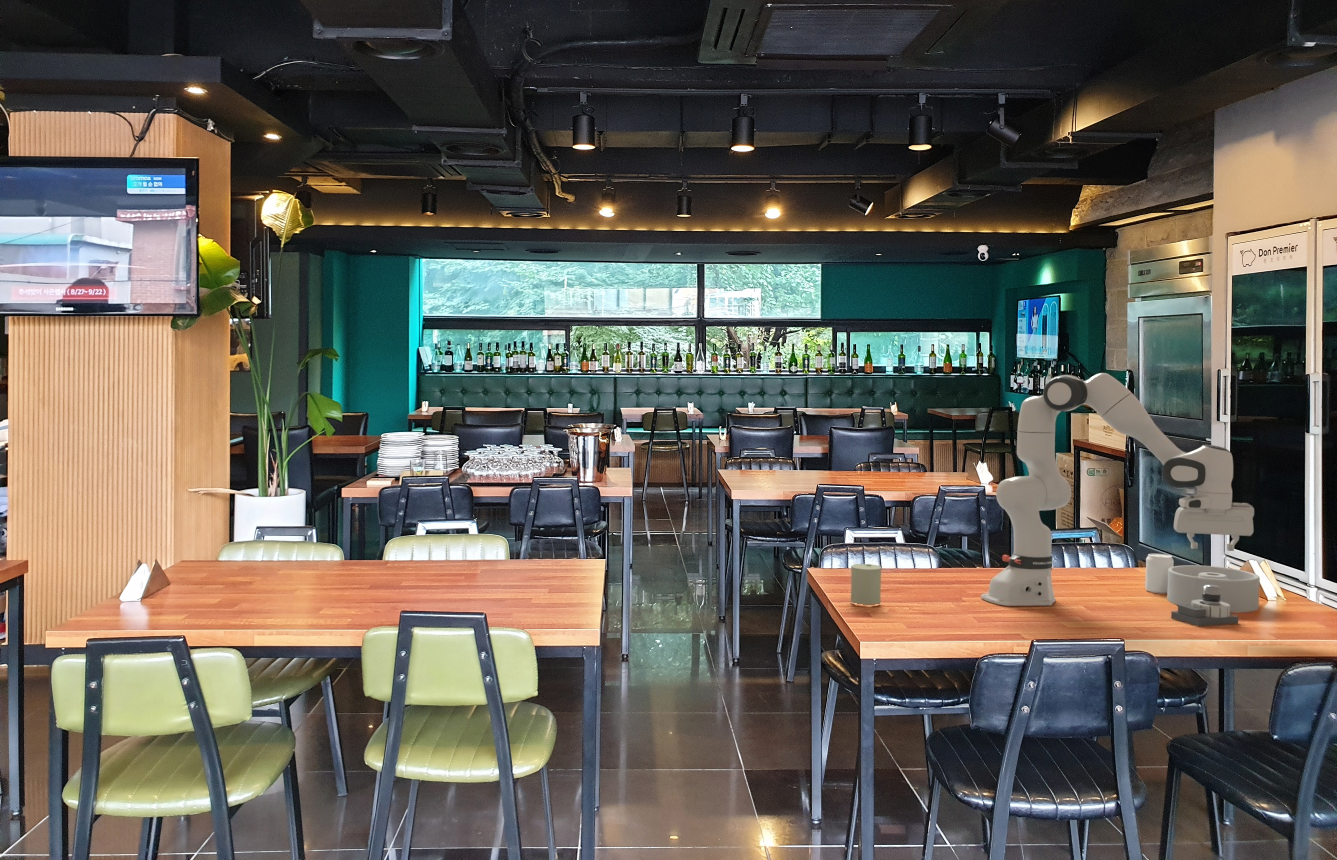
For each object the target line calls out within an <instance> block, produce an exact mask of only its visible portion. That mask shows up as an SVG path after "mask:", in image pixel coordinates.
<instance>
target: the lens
mask: <svg viewBox="0 0 1337 860" xmlns="http://www.w3.org/2000/svg"><path fill="white" fill-rule="evenodd" d="M1220 591H1221V587H1220V586H1216V585H1203V593H1202V604H1206V605H1220V598H1221V594H1220Z"/></svg>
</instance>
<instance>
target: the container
mask: <svg viewBox="0 0 1337 860" xmlns="http://www.w3.org/2000/svg"><path fill="white" fill-rule="evenodd" d="M1260 581H1261V580H1260V575H1258V574H1256V573H1254V572H1251V571H1246V570H1242V569H1236V568H1231V567H1223V566H1212V565H1211V566H1210V565H1175V566H1174V567H1171V568H1169V569H1168V589H1167V594H1166V599H1167V601H1168V602H1169V603H1171V604H1173V605H1176V606H1178V605H1191V601H1193V600H1202V593H1203V585H1216V586H1220V587H1221V591H1220V594H1221V598H1220V602H1224V603H1228V604H1229V605H1230V614H1233V613H1235V614H1237V613H1238V614H1239V613H1242V614H1243V613H1244V614H1245V613H1251V612H1256V611H1258V610H1259V607H1260V606H1259V605H1260V604H1259V603H1260Z"/></svg>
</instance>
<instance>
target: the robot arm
mask: <svg viewBox="0 0 1337 860" xmlns="http://www.w3.org/2000/svg"><path fill="white" fill-rule="evenodd" d="M1082 405H1087V406H1088V407H1090V408H1091V409H1092V410H1094V411H1095V412H1096V413H1097V414H1098V415H1099V417H1100V418H1101V419H1102V420H1103V421H1105V423H1106V424H1108V426H1110V427H1111V428H1113V429H1114V430H1115V431H1116V432H1118V433H1120V434H1122V435H1125V436H1128V437H1130V438H1133V439H1135V440H1136V441H1138V442H1140V443H1141V444H1142V445H1144V446H1145V447H1146V448H1147V449H1148V450H1149V452H1151V453H1152V455H1154V457H1155V458H1156V459H1158V460H1159V462H1160V463H1161V465H1162V468H1161V477H1162V479H1163V481H1164V482H1165V483H1166V484H1167V485H1169V486H1170V487H1172V488H1174V489H1179V490H1181V489H1188V488H1196V494H1193V495H1189V496H1185V497H1181V498H1179V499H1178V505H1179V507H1178V508H1177V509H1176V511H1175V514H1174V520H1173V529H1174V530H1175V532H1177V533H1179V534H1186V537H1187V539H1188V541H1189V542H1190V549H1191V550H1198V548H1199V547H1198V546H1199V543H1198V542H1197V541H1196V542H1195V541H1194V537H1195V534H1196V535H1197V534H1198V535H1199V534H1201V535H1220V536H1221V535H1223V536H1231V539H1232V540H1231V541H1230V543H1226V550H1227V551H1228V552H1234V551H1235V545H1236V544H1237V543H1238V542H1239V540H1240V536H1241V537H1242V536H1243V537H1244V536H1245V537H1251V536H1252V535H1254V534H1253V533H1254V520H1253V519H1254V516H1255V508H1254V507H1253V505H1251V504H1249V503H1248V502H1233V488H1232V481H1233V479H1234V460H1233V459H1234V458H1233V455H1232V452H1231V451H1230V450H1229V449H1227V448H1225V447H1223V446H1219V445H1213V444H1212V445H1211V444H1202V445H1201V446H1200V447H1198V448H1196V449H1194V450H1192V451H1189V452H1187V451H1185V450H1183V449H1181V448H1179V447H1178V446H1177V445H1176V444H1175V443H1174V442H1173V441H1172V440H1171V439H1169V437H1168V436H1167V435H1166V434H1165V433H1164V432H1163V431H1161V429H1159V427H1158V426H1157V425H1156V423H1155V422H1154V421H1153V419H1152V417H1151V416H1150V414H1149V413H1148V411H1147V410H1146V408H1145V407H1144V405H1143V404H1142V403H1141V401H1140V400H1139V399H1138V397H1136V396H1135V395H1134V393H1132V392H1131V390H1129V388H1127V387H1126V386H1125V385H1123V383H1121V381H1119V380H1118V379H1117V378H1115V377H1114V376H1112V375H1110V374H1109V373H1106V372H1100V373H1096V374H1094V375H1093V376H1091V377H1089V378H1088V379H1086V380H1084V379H1082V378H1080V377H1078V376H1076V375H1071V374H1061V375H1057V376H1054V377H1052V378H1051V379H1049V380H1048V381H1047V382H1046V384H1045V386H1044V387H1043V391H1042V395H1033V396H1030V397H1027V398H1025V399H1024V400H1023V401H1022V402H1021V406H1020V411H1019V415H1018V420H1017V421H1018V423H1017V435H1016V436H1017V437H1016V439H1017V440H1016V455H1017V458H1018V459H1019V460H1020V461H1021V462H1023V463H1024V464H1025V466H1026V468H1027V471H1028V475H1024V476H1021V475H1019V476H1012V477H1009V478H1005V479H1003V480H1001V481H1000V482H999V483H998V485H997V487H996V491H995V497H996V500H997V503H998V504H999V507H1001V509H1003V510H1005V512H1006V513H1007V515H1008V516H1009V519H1010V522H1011V524H1012V530H1013V552H1012V554H1011V556H1010V555H1007V554H1003V555H1002V558H1001V559H1002V561H1003V562H1006V563H1008V565H1007V566H1006V567H1005V568H1003V570H1001V571H1000V572H999V573H997V574H996V575H995V576H993V577H992V578H991V580H990V583H989V586H988V587H989V588H988V592H986V593H982V594H981V596H980V597H981V599H982V600H984V601H987V602H989V603H992V604H995V605H1001V606H1005V607H1006V606H1007V607H1018V606H1019V607H1023V606H1024V607H1025V606H1026V607H1027V606H1029V607H1030V606H1031V607H1032V606H1053V605H1054V603H1056V598H1055V592H1054V589H1053V580H1052V579H1053V578H1052V570H1053V556H1052V531H1051V529H1050V528H1049V526H1047V525H1045V524H1044V523H1043V522H1042V520H1041V516H1040V511H1053V510H1057V509H1060V508H1063V507H1065V506H1067V505H1068V504H1069V503H1070V501H1071V499H1072V488H1071V485H1070V483H1069V481H1068V480H1066V479H1065V477H1064V476H1062V474H1061V472H1060V469H1059V468H1058V464H1057V460H1056V452H1055V451H1056V449H1055V447H1056V441H1055V440H1056V421H1057V417H1058V415H1059V414H1060V413H1064V412H1069V411H1073V410H1076V409H1077V408H1079V407H1081V406H1082Z"/></svg>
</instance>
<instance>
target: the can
mask: <svg viewBox="0 0 1337 860" xmlns="http://www.w3.org/2000/svg"><path fill="white" fill-rule="evenodd" d="M850 569H851V571H850V573H851V574H850V575H851V577H850V579H851V580H850V602H853V603H857V604H863V605H875V604H880V603H881V599H882V598H881V596H882V595H881V594H882V593H881V590H882V589H881V586H882V585H881V584H882V583H881V579H882V566H880V565H877V564H871V563H856V564H852V565H851V566H850ZM881 604H882V603H881Z"/></svg>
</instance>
